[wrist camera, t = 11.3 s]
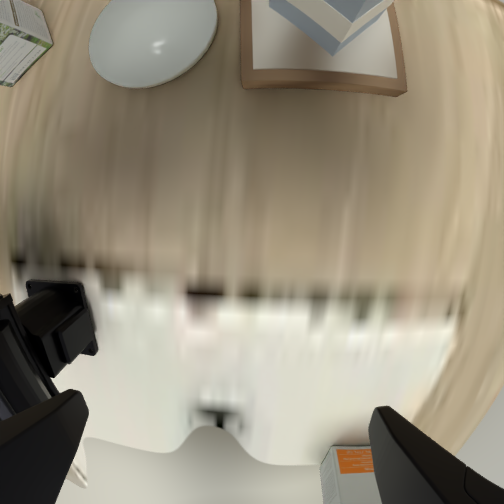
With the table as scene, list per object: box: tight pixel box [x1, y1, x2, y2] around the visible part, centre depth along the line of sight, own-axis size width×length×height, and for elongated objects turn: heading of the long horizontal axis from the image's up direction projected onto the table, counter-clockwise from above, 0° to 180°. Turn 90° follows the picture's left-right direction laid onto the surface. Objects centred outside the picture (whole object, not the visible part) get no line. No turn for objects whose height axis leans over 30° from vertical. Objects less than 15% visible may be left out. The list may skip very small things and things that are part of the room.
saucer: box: [89, 0, 218, 89], centre depth 16 cm, size 9×9×2 cm
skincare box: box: [320, 446, 382, 504], centre depth 19 cm, size 6×4×12 cm
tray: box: [240, 0, 407, 97], centre depth 15 cm, size 10×10×2 cm
